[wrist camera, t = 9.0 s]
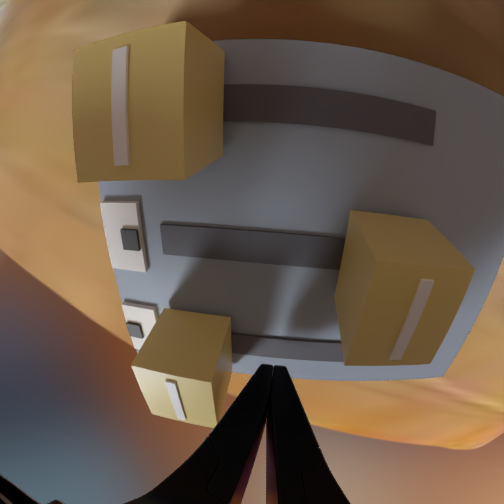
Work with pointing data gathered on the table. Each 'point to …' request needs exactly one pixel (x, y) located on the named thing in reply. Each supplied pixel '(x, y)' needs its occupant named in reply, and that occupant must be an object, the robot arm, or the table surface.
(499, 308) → the table surface
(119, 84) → the slider
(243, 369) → the switch unit
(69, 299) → the table surface
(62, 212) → the table surface
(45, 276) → the table surface
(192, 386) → the slider
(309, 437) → the robot arm
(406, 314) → the slider
